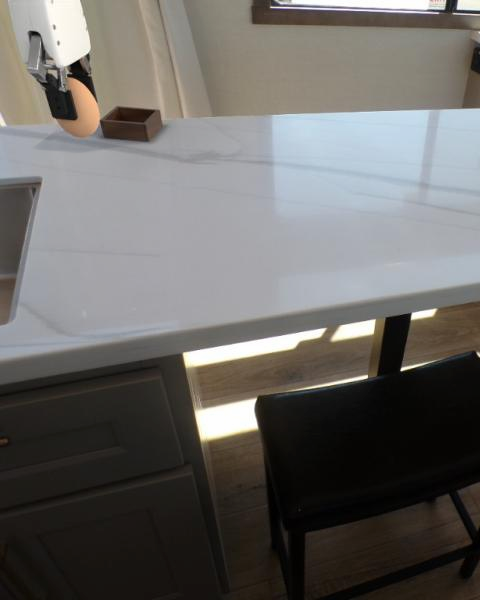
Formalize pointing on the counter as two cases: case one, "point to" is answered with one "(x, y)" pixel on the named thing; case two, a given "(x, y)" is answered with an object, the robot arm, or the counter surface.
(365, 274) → the counter surface
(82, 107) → the egg
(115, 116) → the open wooden tray
